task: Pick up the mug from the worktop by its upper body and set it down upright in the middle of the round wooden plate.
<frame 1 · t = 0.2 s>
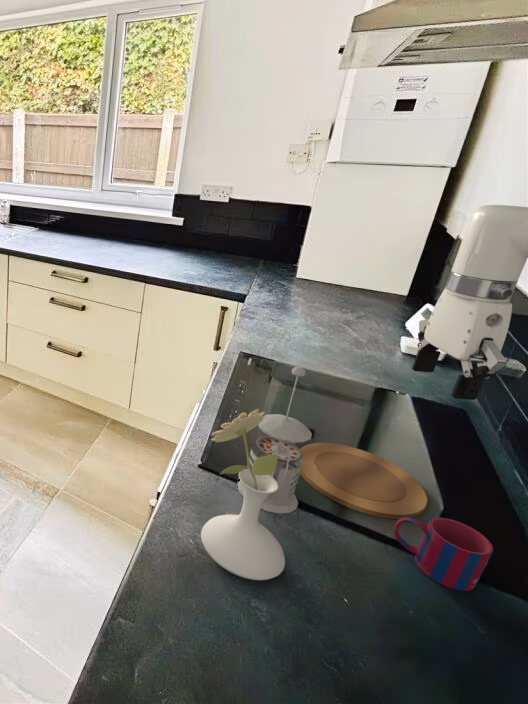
hand: (441, 383, 77), 21 cm above the worktop, tool pointing down, fingers open, 9 cm apart
round wooden plate: (356, 479, 86), on the worktop
french press: (266, 497, 81), on the worktop
mug: (428, 564, 68), on the worktop
flower in vase: (233, 555, 69), on the worktop
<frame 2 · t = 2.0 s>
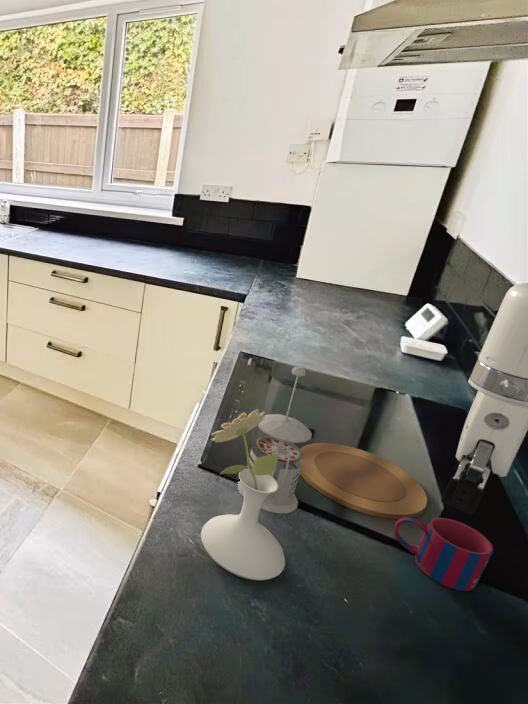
hand: (461, 491, 63), 13 cm above the worktop, tool pointing down, fingers open, 9 cm apart
nothing on the worktop moved.
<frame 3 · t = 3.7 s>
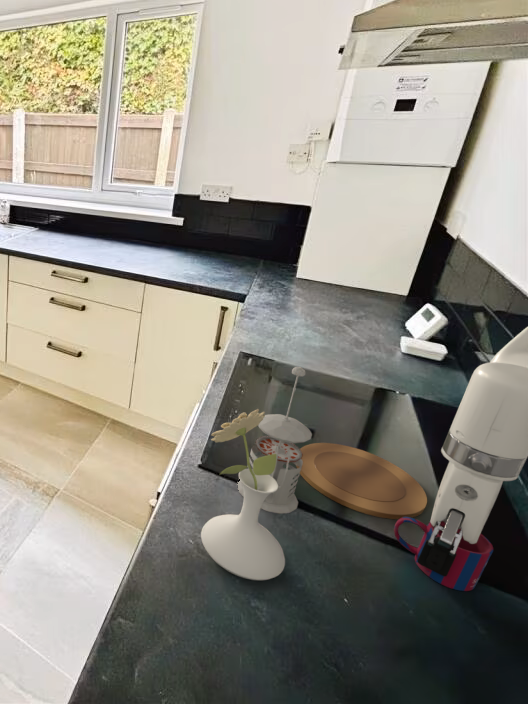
hand: (436, 554, 67), 2 cm above the worktop, tool pointing down, fingers closed on mug, 6 cm apart
mug: (428, 564, 68), on the worktop, touching gripper
everything else where it was.
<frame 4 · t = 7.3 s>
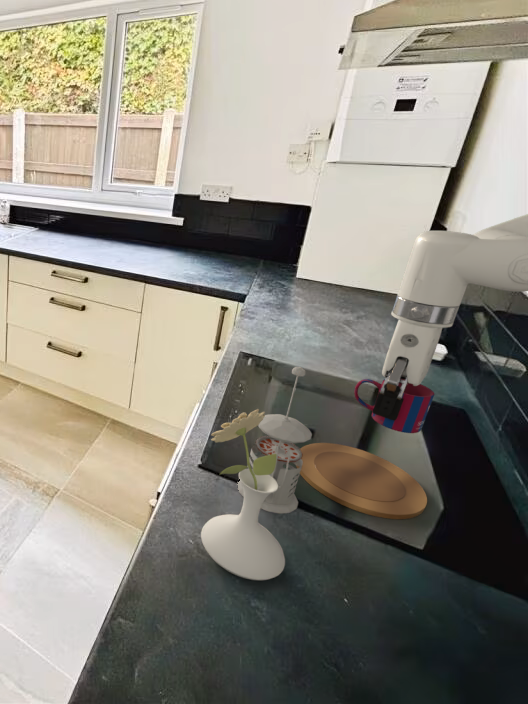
hand: (389, 408, 78), 16 cm above the worktop, tool pointing down, fingers closed on mug, 6 cm apart
mug: (383, 419, 79), point 14 cm above the worktop, touching gripper
everything else where it was.
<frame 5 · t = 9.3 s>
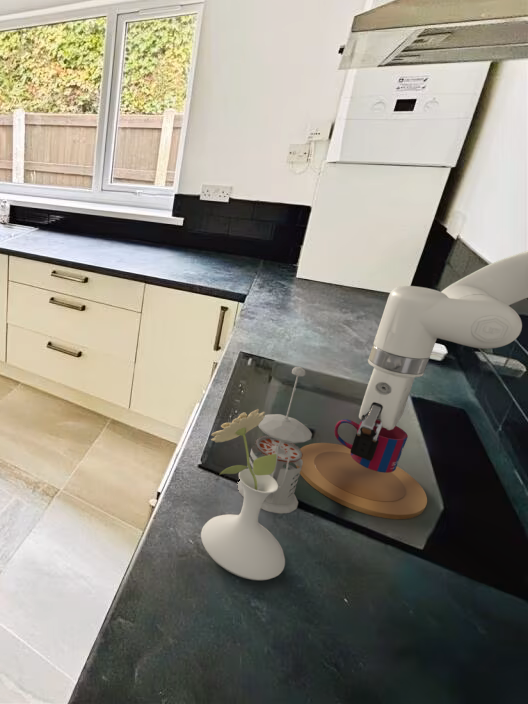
hand: (367, 447, 83), 7 cm above the worktop, tool pointing down, fingers closed on mug, 6 cm apart
mug: (361, 457, 84), point 5 cm above the worktop, touching gripper
everything else where it was.
when the fingers open (3 cm above the worktop, at t = 10.8 s): mug stays where it is, resting on round wooden plate.
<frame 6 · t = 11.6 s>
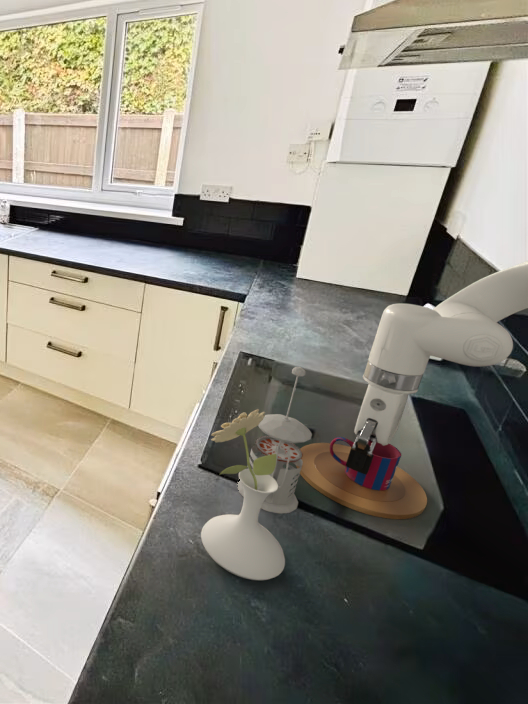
hand: (363, 458, 84), 5 cm above the worktop, tool pointing down, fingers open, 9 cm apart
mug: (355, 474, 86), point 1 cm above the worktop, touching round wooden plate
everything else where it was.
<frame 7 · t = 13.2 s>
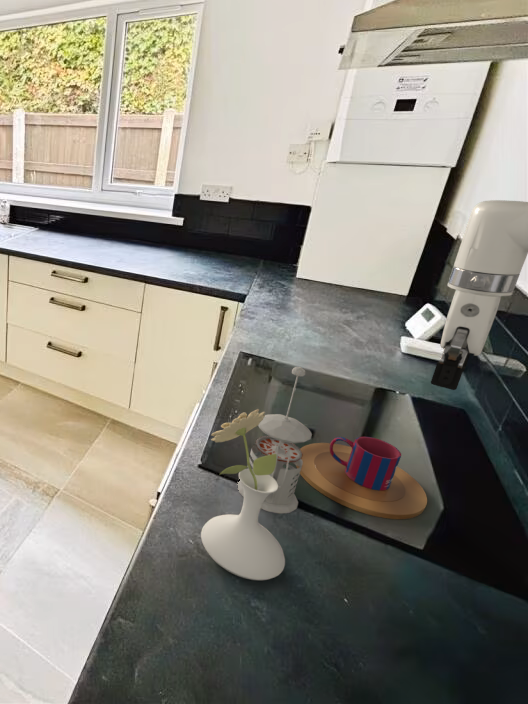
hand: (447, 377, 78), 22 cm above the worktop, tool pointing down, fingers open, 9 cm apart
nothing on the worktop moved.
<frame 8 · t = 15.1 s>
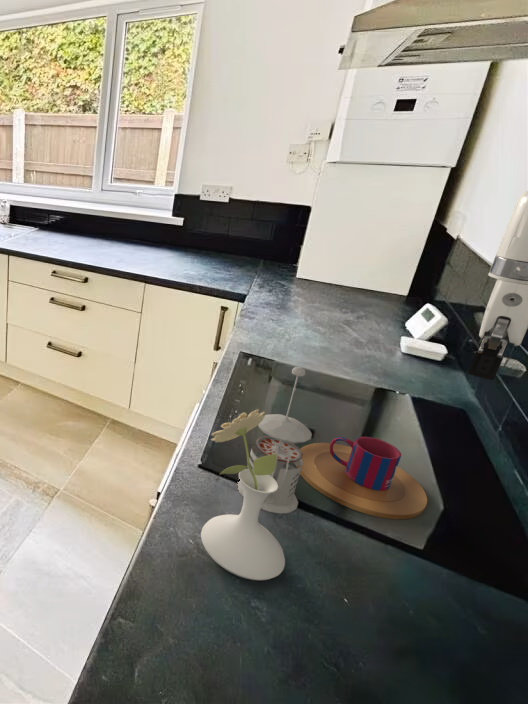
hand: (483, 368, 78), 23 cm above the worktop, tool pointing down, fingers open, 9 cm apart
nothing on the worktop moved.
at the end: mug inside the target area on the round wooden plate (0.2 cm from its centre), point 0.9 cm above the round wooden plate's base; mug tilted 0°; the gripper is holding nothing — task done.
